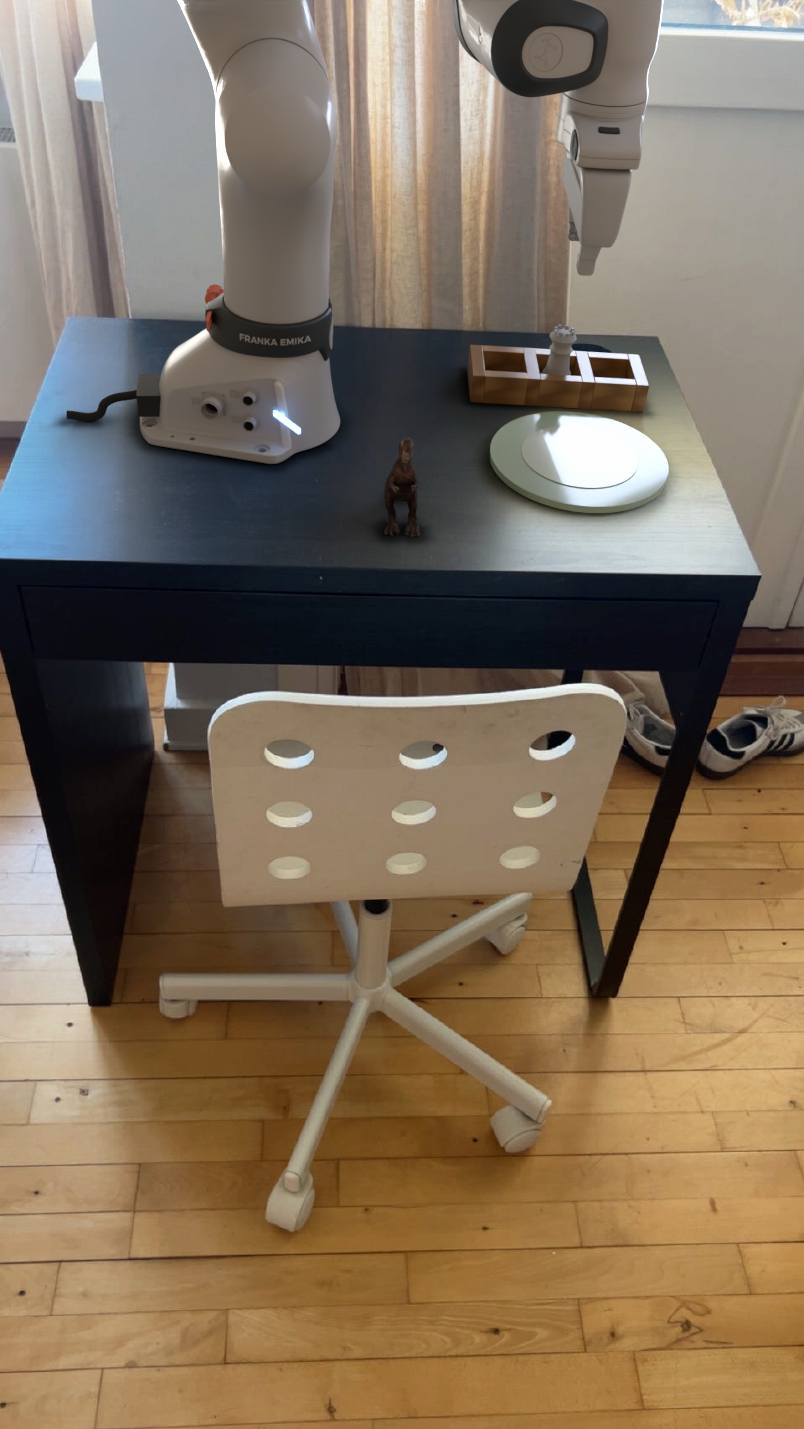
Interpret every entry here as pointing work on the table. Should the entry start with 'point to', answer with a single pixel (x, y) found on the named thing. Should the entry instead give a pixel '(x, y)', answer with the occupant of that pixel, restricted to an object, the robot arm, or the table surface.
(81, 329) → the table surface
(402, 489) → the dinosaur model
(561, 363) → the rook chess piece
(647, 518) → the table surface
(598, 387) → the rack
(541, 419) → the plate
